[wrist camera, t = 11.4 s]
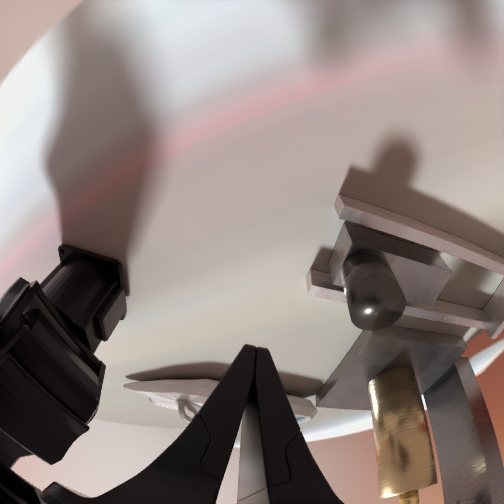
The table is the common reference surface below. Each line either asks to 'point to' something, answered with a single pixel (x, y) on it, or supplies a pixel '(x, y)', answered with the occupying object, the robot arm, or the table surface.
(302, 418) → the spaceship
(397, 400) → the disc
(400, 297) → the sliding block with knob
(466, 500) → the press bed
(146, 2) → the table surface
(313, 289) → the guide rail
